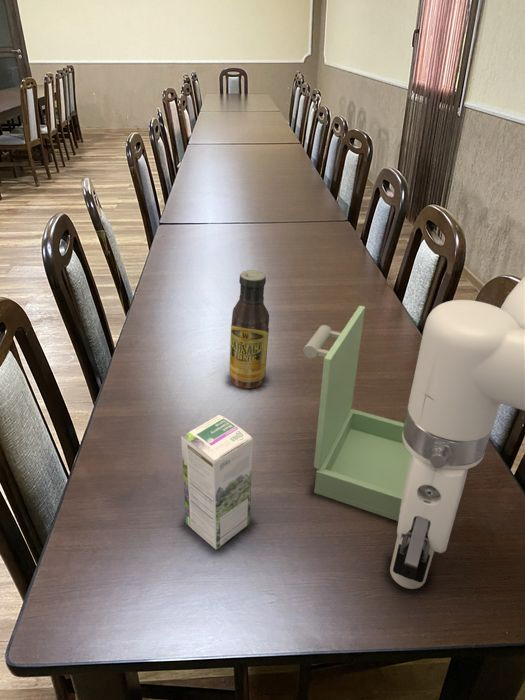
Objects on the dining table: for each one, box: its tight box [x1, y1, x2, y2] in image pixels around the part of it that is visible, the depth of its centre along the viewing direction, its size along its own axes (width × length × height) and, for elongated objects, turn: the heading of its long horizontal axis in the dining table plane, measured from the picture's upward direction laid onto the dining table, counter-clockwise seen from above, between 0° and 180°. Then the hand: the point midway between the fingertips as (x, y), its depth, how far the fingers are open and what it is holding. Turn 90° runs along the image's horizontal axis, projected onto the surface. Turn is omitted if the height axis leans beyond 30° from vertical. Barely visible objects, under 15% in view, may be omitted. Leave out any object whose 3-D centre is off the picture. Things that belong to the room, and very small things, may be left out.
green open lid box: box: [313, 408, 411, 522], centre depth 73 cm, size 16×15×4 cm
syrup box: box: [180, 414, 254, 551], centre depth 62 cm, size 6×6×14 cm
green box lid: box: [302, 305, 366, 470], centre depth 71 cm, size 17×15×5 cm
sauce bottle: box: [228, 269, 270, 389], centre depth 88 cm, size 6×6×20 cm
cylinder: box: [389, 535, 435, 590], centre depth 59 cm, size 4×4×8 cm
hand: (412, 557), depth 59 cm, fingers closed on cylinder, 4 cm apart
